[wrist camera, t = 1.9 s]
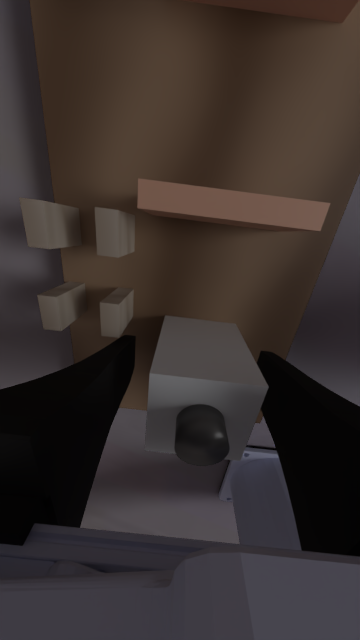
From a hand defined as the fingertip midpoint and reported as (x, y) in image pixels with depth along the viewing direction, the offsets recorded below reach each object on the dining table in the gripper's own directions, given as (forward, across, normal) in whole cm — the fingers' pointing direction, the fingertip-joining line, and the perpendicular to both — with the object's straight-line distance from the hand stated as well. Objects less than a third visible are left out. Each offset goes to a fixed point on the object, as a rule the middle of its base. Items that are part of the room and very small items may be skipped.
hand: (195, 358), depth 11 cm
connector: (+1, 0, 0) cm, 1 cm away
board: (+2, +1, -5) cm, 6 cm away
